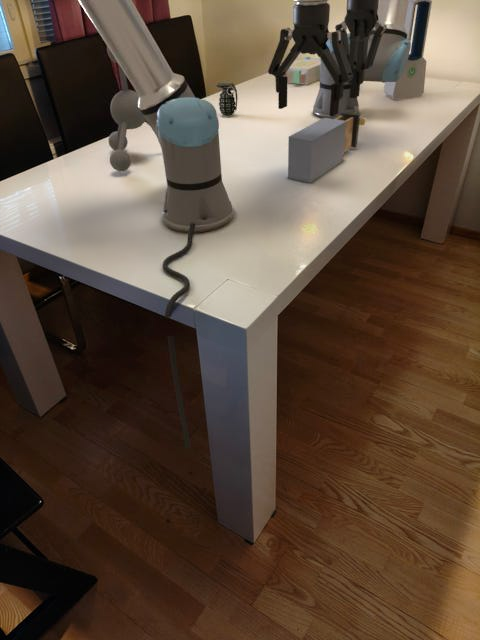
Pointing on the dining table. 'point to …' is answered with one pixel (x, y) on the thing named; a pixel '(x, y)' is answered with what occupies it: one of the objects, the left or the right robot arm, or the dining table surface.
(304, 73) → the decorative block
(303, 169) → the cabinet
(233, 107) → the grenade
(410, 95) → the electronic device
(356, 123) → the drawer
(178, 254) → the left robot arm
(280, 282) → the dining table surface
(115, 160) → the molecular model
